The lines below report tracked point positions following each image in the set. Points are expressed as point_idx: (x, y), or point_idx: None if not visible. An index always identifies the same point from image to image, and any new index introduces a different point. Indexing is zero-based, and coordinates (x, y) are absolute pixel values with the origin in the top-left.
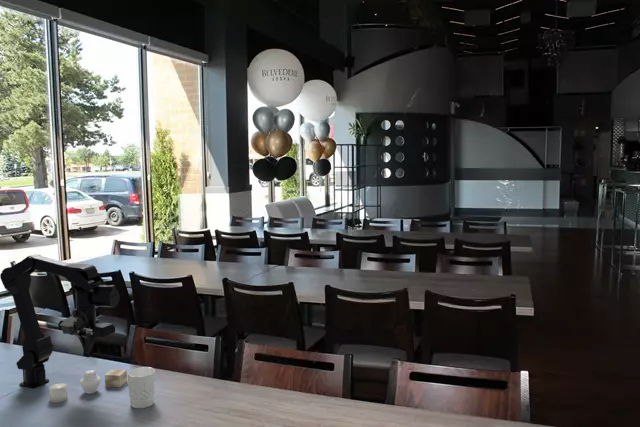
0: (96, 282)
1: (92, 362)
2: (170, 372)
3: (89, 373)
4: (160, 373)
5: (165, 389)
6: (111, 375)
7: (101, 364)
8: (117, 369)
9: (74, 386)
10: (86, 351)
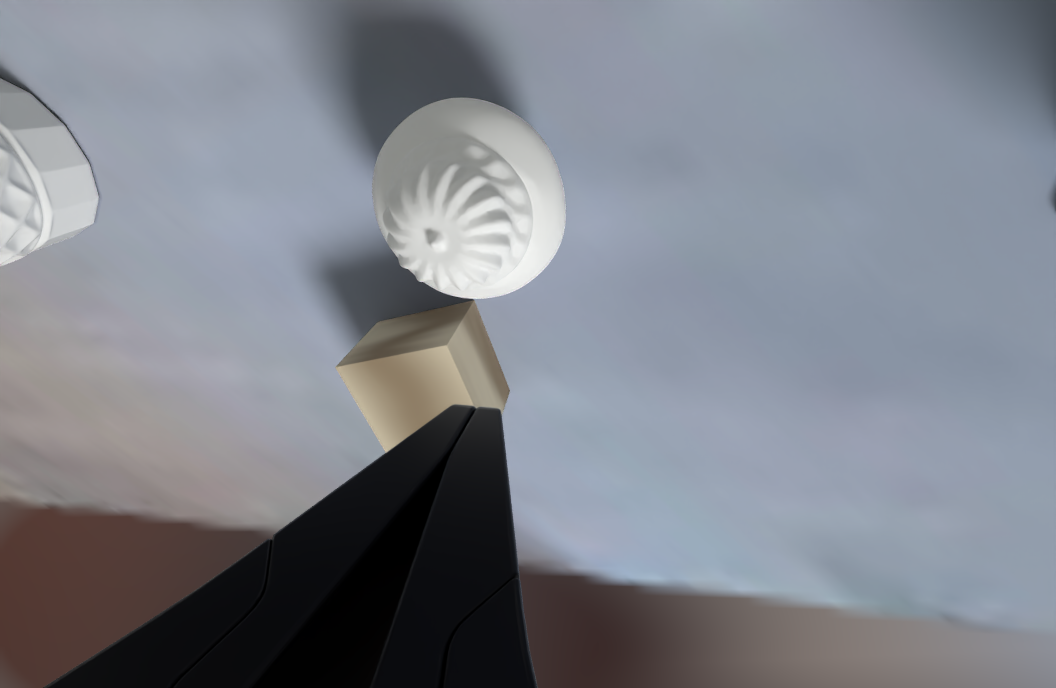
0: None
1: (858, 568)
2: None
3: (402, 195)
4: None
5: (148, 373)
6: (394, 354)
7: (771, 553)
8: None
9: (709, 216)
10: (444, 424)
